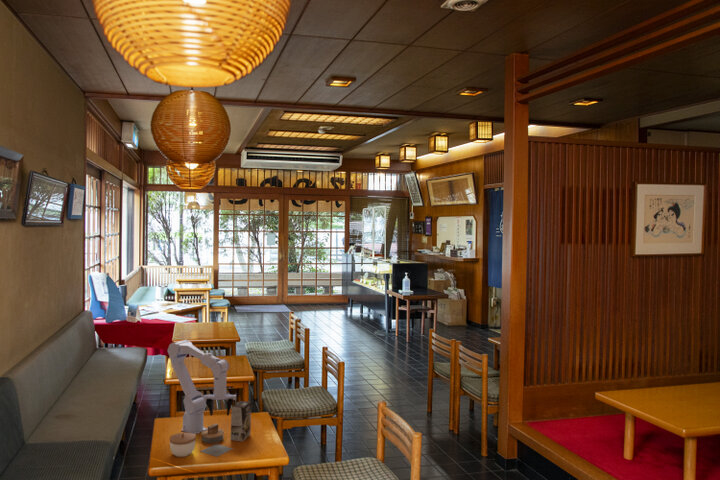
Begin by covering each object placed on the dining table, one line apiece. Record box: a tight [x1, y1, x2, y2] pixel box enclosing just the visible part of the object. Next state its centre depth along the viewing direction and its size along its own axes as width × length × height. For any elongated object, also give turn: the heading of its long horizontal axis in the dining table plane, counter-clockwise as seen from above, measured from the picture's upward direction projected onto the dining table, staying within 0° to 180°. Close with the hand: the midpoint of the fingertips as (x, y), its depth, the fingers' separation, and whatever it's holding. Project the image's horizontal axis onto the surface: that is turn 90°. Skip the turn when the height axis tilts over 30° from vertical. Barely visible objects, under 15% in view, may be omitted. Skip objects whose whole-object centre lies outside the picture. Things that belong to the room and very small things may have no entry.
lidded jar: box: [169, 432, 197, 458], centre depth 238 cm, size 11×11×9 cm
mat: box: [199, 443, 234, 458], centre depth 243 cm, size 10×10×1 cm
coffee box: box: [230, 400, 252, 442], centre depth 258 cm, size 9×6×16 cm
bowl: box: [201, 434, 224, 444], centre depth 255 cm, size 9×10×3 cm
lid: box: [201, 423, 225, 438], centre depth 255 cm, size 10×10×4 cm
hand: (219, 414), depth 260 cm, fingers open, 7 cm apart
